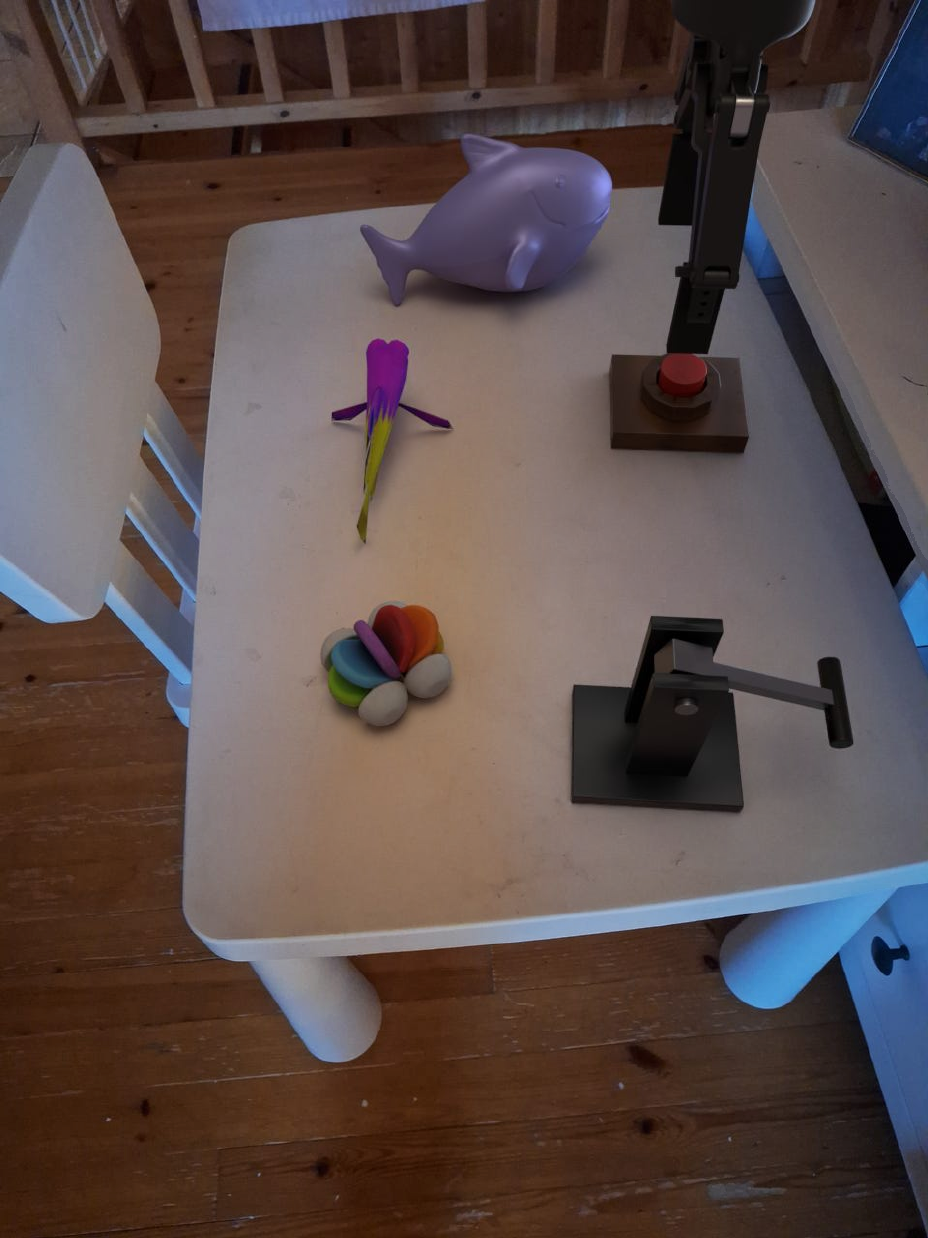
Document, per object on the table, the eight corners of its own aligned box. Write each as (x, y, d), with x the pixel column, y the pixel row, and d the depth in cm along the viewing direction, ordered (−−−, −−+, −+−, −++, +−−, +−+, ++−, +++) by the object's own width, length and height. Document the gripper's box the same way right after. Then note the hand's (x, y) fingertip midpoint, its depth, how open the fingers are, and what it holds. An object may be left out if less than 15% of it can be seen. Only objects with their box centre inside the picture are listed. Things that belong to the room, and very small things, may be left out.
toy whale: (638, 282, 88) (616, 104, 78) (393, 353, 90) (342, 187, 80) (606, 243, 99) (583, 82, 89) (387, 307, 100) (341, 156, 91)
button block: (734, 374, 87) (744, 342, 84) (743, 453, 82) (754, 422, 78) (609, 371, 88) (613, 339, 84) (610, 448, 82) (615, 417, 79)
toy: (460, 379, 86) (453, 314, 76) (436, 567, 80) (424, 524, 71) (339, 370, 87) (317, 306, 77) (307, 556, 81) (279, 512, 72)
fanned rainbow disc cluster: (470, 682, 70) (467, 635, 64) (363, 748, 68) (350, 705, 62) (411, 607, 74) (403, 555, 68) (309, 667, 72) (291, 619, 65)
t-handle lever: (826, 671, 61) (849, 655, 59) (838, 753, 58) (864, 739, 56) (652, 629, 58) (671, 611, 56) (656, 713, 55) (675, 697, 53)
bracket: (729, 699, 69) (782, 594, 56) (740, 813, 64) (799, 725, 52) (572, 691, 70) (589, 585, 57) (571, 803, 65) (589, 714, 52)
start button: (701, 367, 83) (705, 352, 81) (704, 399, 80) (708, 384, 79) (657, 366, 83) (660, 351, 81) (659, 397, 81) (662, 383, 79)
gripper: (669, -169, 52) (624, 175, 70) (696, 60, 39) (632, 410, 57) (801, -170, 52) (721, 177, 70) (872, 62, 39) (752, 414, 57)
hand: (681, 283), depth 64 cm, fingers open, 13 cm apart
